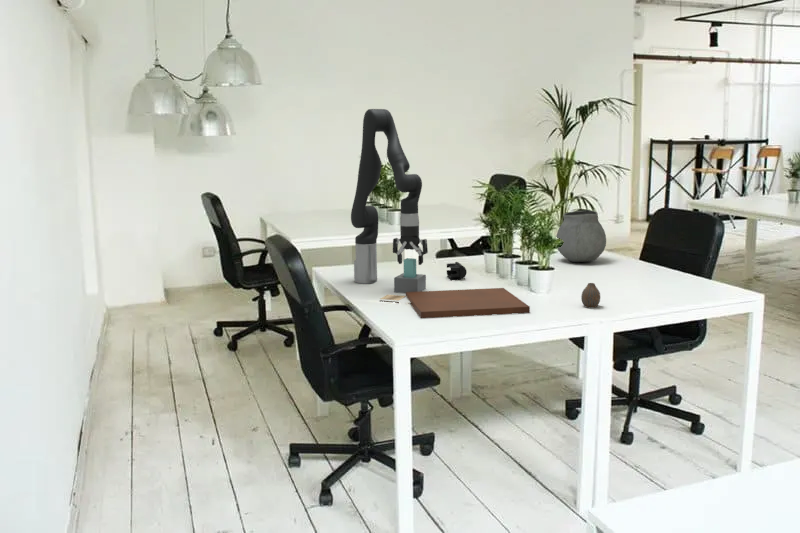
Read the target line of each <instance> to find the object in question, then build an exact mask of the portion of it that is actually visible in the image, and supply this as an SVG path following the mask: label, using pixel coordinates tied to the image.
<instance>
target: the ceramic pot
mask: <svg viewBox="0 0 800 533" xmlns="http://www.w3.org/2000/svg"><path fill="white" fill-rule="evenodd" d="M562 216H563V221H562V223H561V225H559V228H558V230H557V231H556V232H557V233H556V235H555V238H556V237H557V238H560V239H562V240H563V241H564V243H563V245H562V246H561V247H559V248H558V249H557V250H558V252H559V254H560V255H562V257H564V258H565V259H566V260H568V261H569V262H572V263H589V262H593V261H596V260H597V259H598V258H599V257H600V256H601V255H602V254H603V253H604V251H605V249H606V246H607V236H606V231H605V229H604V227H603V226H602V224H601V222H600V221H599V217H598V216H599V215H598V211H595V210H577V211H569V212H565V213H563V215H562Z"/></svg>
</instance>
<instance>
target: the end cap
mask: <svg viewBox="0 0 800 533" xmlns="http://www.w3.org/2000/svg"><path fill="white" fill-rule="evenodd" d="M446 268H450V269H449V270H448V269H447V270H446V277H447V279H448V280H449V281H452V280H455V281H462V280H463V279H464V278H465V277H466V276H467V273H468V272H467V268H466V267H465V266H464V265H462V263H460V262H458V261H455V262H454V263H453V262H452V263H450V262H449V263H446Z"/></svg>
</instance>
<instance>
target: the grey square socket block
mask: <svg viewBox="0 0 800 533" xmlns="http://www.w3.org/2000/svg"><path fill="white" fill-rule="evenodd" d="M393 279H394V280H393V281H394V282H393V285H394V286H393V290H394V291H393V293H399V294H406V292H420V291H425V290H427V281H426V280H427V276H426V274H422V273H416V277H414V278H410V277H404V272H403V273H400V274H399V275H396V276H394V277H393Z"/></svg>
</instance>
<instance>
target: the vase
mask: <svg viewBox="0 0 800 533" xmlns="http://www.w3.org/2000/svg"><path fill="white" fill-rule="evenodd" d="M580 297H581V299H580V300H581V303H582V305H583V306H584V307H585V306H586V307H585V308H589V307H594V308H597V306H599V304H600V302H601V292H600V291H599V289H598V287H597V286H596V284H595V283H594V282H588V283H587V285H586V287H585V288H584V289H583V290H582V292H581V296H580Z"/></svg>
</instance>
